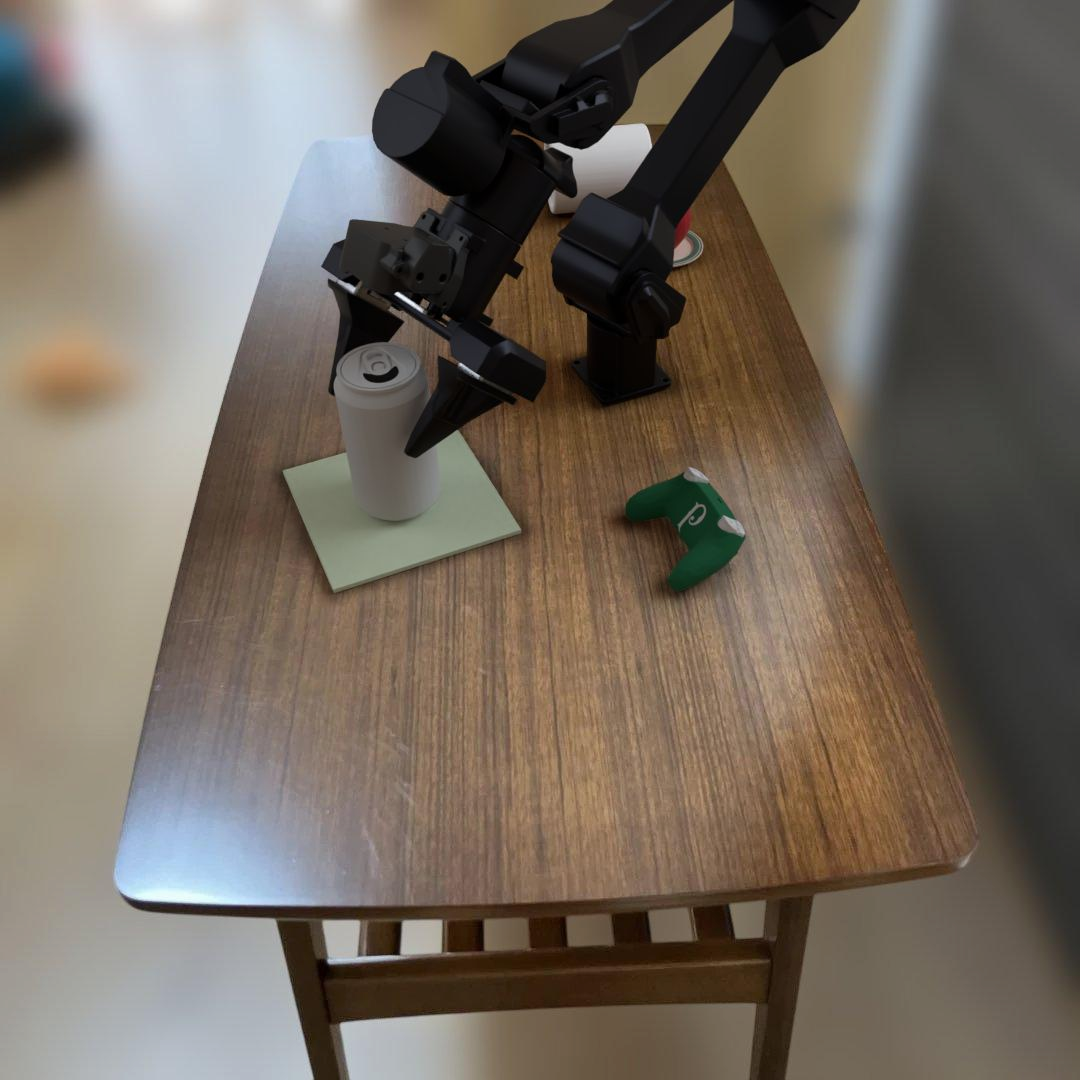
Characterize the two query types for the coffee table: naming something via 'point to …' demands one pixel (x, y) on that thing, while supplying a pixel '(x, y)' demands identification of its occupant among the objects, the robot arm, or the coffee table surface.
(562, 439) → the coffee table surface
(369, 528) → the felt mat
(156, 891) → the coffee table surface
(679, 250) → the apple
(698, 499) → the gaming controller
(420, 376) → the beverage can
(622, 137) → the mug
